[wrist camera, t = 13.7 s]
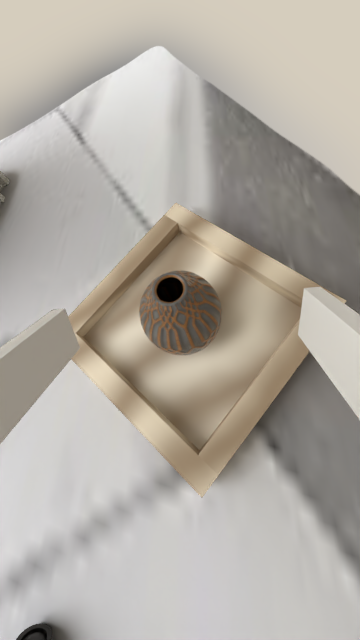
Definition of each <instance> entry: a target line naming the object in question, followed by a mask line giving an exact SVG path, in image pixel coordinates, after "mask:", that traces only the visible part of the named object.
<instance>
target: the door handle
mask: <svg viewBox="0 0 360 640" xmlns="http://www.w3.org/2000/svg"><path fill="white" fill-rule="evenodd" d="M51 637H52V631H51V628H50V627H49V626H48V625H46V624H35V625H33V626H30V627H29V628H27V629H26V630H24V631H23V632H22V633H21V634H20V635H19V636H18V638H17V639H16V640H51Z"/></svg>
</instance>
